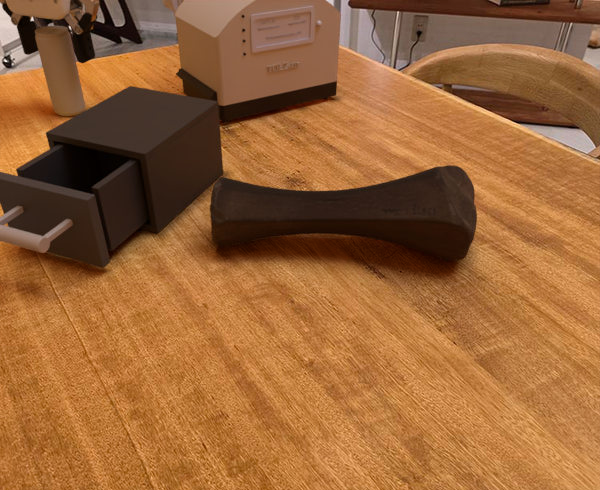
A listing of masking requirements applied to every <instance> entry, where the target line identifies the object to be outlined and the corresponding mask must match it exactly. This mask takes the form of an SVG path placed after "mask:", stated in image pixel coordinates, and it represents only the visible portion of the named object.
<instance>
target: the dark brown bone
mask: <svg viewBox="0 0 600 490" xmlns="http://www.w3.org/2000/svg"><path fill="white" fill-rule="evenodd" d="M475 197H476V196H475V187H474V183H473V181H472V180H471V178H470V177H469V176H468V173H467V172H466V171H465V169H463V168H462V167H459V166H458V165H453V164H452V165H444V166H442V165H441V166H435V167H432V168H431V167H430V168H429V169H426V170H423V171H420V172H416V173H414V174H410V175H407V176H404V177H400V178H397V179H392V180H389V181H385V182H380V183H376V184H372V185H371V184H370V185H367V186H360V187H353V188H346V189H336V190H333V189H332V190H297V189H288V188H287V189H286V188H278V187H271V186H265V185H259V184H255V183H249V182H244V181H241V180H237V179H233V178H229V177H225V176H220V177H219V178H218V179H217V180H216V181H215V182H214V184H213V187H212V190H211V195H210V205H209V211H210V212H209V214H210V215H209V216H210V226H211V228H210V229H211V231H210V232H211V233H210V234H211V241H212V243H213V244H214V245H215V246H218V247H229V246H235V245H241V244H245V243H248V242H253V241H259V240H263V239H269V238H275V237H277V238H278V237H282V236H284V237H285V236H295V235H310V234H311V235H315V234H317V235H318V234H319V235H321V234H322V235H341V236H352V237H361V238H366V239H373V240H377V241H383V242H386V243H391V244H394V245H399V246H402V247H406V248H409V249H412V250H416V251H417V252H421V253H424V254H426V255H430V256H433V257H435V258H438V259H441V260H444V261H447V262H456V261H462V260H464V259H466V258H467V256H468V253H469V250H470V247H471V245H472V243H473V241H474V239H475V234H476V230H477V223H478V213H477V211H478V210H477V207H476V205H475Z"/></svg>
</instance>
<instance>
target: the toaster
mask: <svg viewBox="0 0 600 490" xmlns="http://www.w3.org/2000/svg"><path fill="white" fill-rule="evenodd" d="M161 3H162V4H163V6H164V7H165V8H167V9H168V10H169V11H170V10H171V11H173V15H174V18H175V19H174V20H175V27H176V28H175V29H176V36H177V45H178V55H179V56H178V57H179V64H180V65H179V66H180V68H178V71H177V72H176V73H175V75H176V76H177V77H178V78H179V79H180V80H181V81H182V92H183V95H185V96H190V97H195V98H201V99H207V100H212V101H218V108H219V121H221V122H222V123H225V124H228V123H230V122H231V121H232V120H237V119H241V118H245V117H249V116H253V115H257V114H262V113H267V112H271V111H275V110H279V109H283V108H289V107H293V106H296V105H302V104H305V103H310V102H314V101H318V100H326V101H327V100H330V98H331V97H336V96H337V89H338V72H339V71H338V69H339V56H340V55H339V54H340V37H341V22H342V21H341V19H342V14H341V12H340V11H339V10H338V9H337V8H336V7H335V6H334V4H332V3H331V2H329V1H328V0H161Z"/></svg>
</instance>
